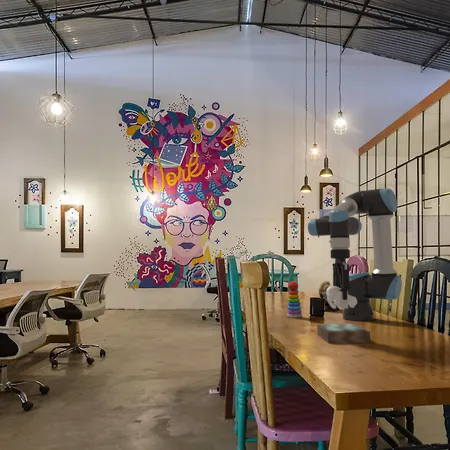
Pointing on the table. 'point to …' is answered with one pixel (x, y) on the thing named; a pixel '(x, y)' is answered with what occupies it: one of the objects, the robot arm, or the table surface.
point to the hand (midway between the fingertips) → (341, 306)
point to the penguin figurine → (338, 297)
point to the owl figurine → (323, 295)
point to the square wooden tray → (343, 333)
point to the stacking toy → (294, 301)
